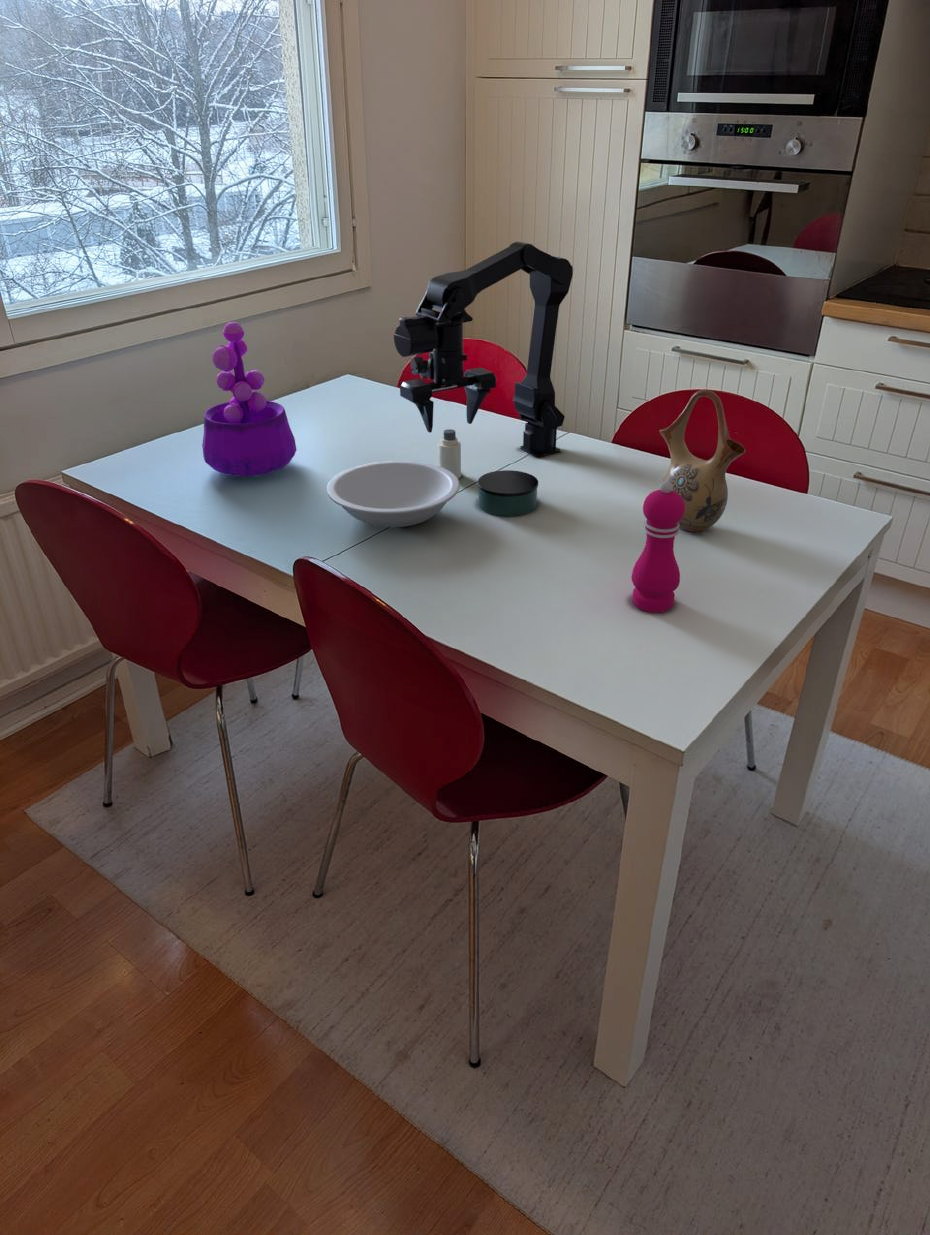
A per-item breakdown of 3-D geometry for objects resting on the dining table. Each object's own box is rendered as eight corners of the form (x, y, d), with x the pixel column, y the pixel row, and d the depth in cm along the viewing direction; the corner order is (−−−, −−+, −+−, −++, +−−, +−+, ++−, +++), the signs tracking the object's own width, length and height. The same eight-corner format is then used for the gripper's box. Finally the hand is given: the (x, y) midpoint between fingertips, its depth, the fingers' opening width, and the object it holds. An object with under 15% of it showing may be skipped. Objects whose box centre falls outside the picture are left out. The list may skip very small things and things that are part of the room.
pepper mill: (624, 592, 140) (635, 472, 130) (669, 590, 140) (684, 470, 130) (635, 615, 134) (648, 492, 123) (682, 613, 134) (699, 490, 124)
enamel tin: (515, 488, 176) (515, 466, 174) (549, 507, 168) (550, 485, 165) (466, 500, 171) (466, 478, 169) (499, 521, 163) (499, 498, 160)
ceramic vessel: (743, 533, 158) (767, 394, 145) (715, 549, 152) (737, 406, 140) (665, 506, 168) (681, 374, 155) (637, 521, 162) (651, 385, 150)
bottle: (453, 470, 184) (453, 426, 179) (464, 477, 181) (464, 432, 176) (435, 474, 182) (434, 430, 177) (446, 481, 179) (445, 436, 174)
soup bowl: (305, 535, 158) (302, 500, 155) (364, 485, 178) (362, 454, 174) (430, 555, 151) (429, 520, 148) (477, 501, 170) (477, 469, 167)
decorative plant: (269, 492, 175) (249, 337, 160) (188, 481, 180) (161, 329, 165) (313, 459, 190) (298, 314, 175) (237, 449, 195) (216, 308, 180)
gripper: (467, 332, 178) (468, 408, 187) (384, 346, 170) (389, 425, 178) (498, 344, 170) (497, 423, 178) (412, 359, 162) (415, 441, 170)
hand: (449, 427), depth 176 cm, fingers open, 9 cm apart
